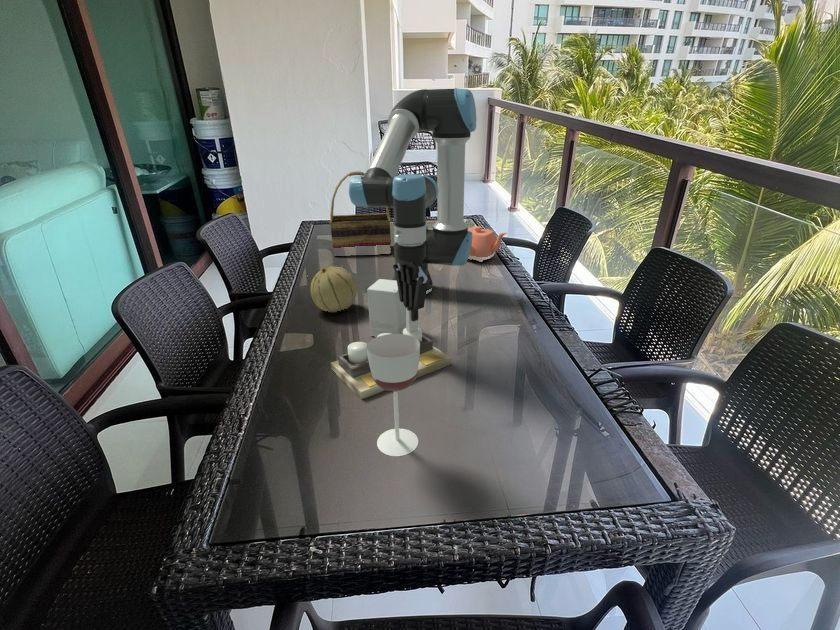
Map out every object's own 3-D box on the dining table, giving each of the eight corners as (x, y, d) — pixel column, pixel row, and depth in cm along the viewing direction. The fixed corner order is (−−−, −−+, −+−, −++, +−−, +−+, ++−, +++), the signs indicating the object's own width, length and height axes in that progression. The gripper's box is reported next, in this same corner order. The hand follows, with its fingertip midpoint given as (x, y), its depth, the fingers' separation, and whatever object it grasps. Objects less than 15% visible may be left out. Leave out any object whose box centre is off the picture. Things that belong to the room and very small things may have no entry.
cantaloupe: (367, 309, 151) (364, 265, 145) (331, 324, 141) (326, 278, 135) (339, 297, 160) (335, 256, 154) (303, 311, 150) (298, 267, 144)
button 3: (399, 341, 123) (399, 329, 121) (415, 336, 125) (414, 324, 124) (410, 349, 119) (409, 337, 117) (425, 343, 121) (425, 331, 120)
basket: (332, 257, 201) (323, 175, 186) (333, 248, 214) (326, 170, 200) (392, 255, 204) (389, 172, 189) (390, 245, 217) (387, 168, 202)
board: (331, 369, 117) (329, 354, 115) (415, 340, 131) (415, 326, 129) (361, 399, 105) (360, 382, 103) (450, 364, 119) (451, 349, 117)
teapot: (505, 263, 191) (507, 230, 185) (463, 267, 187) (463, 234, 181) (489, 251, 207) (491, 220, 201) (450, 254, 203) (450, 223, 197)
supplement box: (409, 327, 138) (408, 281, 132) (398, 341, 131) (396, 292, 124) (381, 323, 141) (379, 277, 135) (369, 336, 133) (366, 288, 127)
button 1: (345, 357, 114) (344, 345, 113) (363, 352, 117) (362, 339, 115) (354, 366, 110) (353, 353, 109) (372, 360, 113) (371, 347, 112)
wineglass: (373, 429, 96) (367, 335, 86) (419, 426, 96) (417, 332, 87) (373, 458, 88) (366, 358, 79) (423, 455, 89) (422, 355, 79)
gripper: (382, 239, 113) (386, 325, 123) (412, 251, 104) (414, 343, 114) (408, 234, 117) (410, 318, 127) (439, 245, 108) (438, 335, 117)
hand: (412, 330), depth 120 cm, fingers closed
